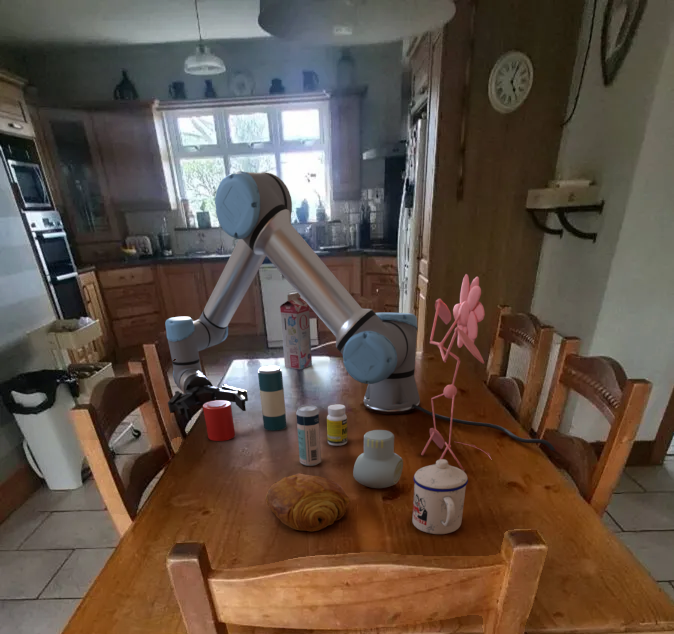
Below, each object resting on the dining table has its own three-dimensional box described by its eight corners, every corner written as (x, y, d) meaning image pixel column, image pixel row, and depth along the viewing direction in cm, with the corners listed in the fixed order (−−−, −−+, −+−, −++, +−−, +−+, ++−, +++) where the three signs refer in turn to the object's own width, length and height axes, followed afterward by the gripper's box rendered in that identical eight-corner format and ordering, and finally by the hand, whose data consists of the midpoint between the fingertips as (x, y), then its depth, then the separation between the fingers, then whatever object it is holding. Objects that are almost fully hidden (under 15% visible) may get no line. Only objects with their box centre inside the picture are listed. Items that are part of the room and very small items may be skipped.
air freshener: (390, 496, 106) (392, 447, 100) (350, 491, 109) (349, 442, 102) (404, 474, 114) (407, 427, 108) (367, 469, 117) (367, 423, 111)
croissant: (286, 551, 95) (283, 513, 90) (258, 503, 105) (254, 466, 100) (361, 530, 99) (362, 493, 94) (327, 486, 109) (327, 450, 104)
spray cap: (240, 434, 136) (236, 401, 131) (223, 442, 132) (217, 409, 127) (220, 429, 139) (215, 398, 134) (202, 438, 134) (196, 405, 130)
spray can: (291, 424, 140) (286, 366, 132) (277, 432, 136) (271, 372, 128) (272, 421, 143) (267, 364, 134) (259, 428, 139) (252, 369, 130)
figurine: (442, 489, 108) (461, 287, 87) (407, 442, 128) (416, 269, 107) (515, 481, 110) (551, 282, 89) (470, 436, 130) (490, 265, 109)
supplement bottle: (345, 446, 127) (344, 410, 122) (325, 445, 128) (324, 409, 123) (349, 439, 131) (348, 403, 126) (330, 438, 132) (328, 403, 127)
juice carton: (311, 365, 188) (308, 292, 175) (300, 369, 183) (295, 295, 170) (296, 362, 191) (291, 291, 178) (284, 367, 186) (279, 294, 173)
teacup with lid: (405, 513, 101) (408, 452, 93) (453, 509, 101) (460, 448, 94) (422, 547, 91) (427, 482, 84) (475, 541, 92) (484, 477, 85)
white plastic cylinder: (324, 459, 122) (322, 405, 114) (316, 468, 118) (313, 412, 111) (304, 457, 123) (300, 403, 116) (296, 465, 119) (292, 410, 112)
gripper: (243, 395, 154) (267, 417, 139) (153, 409, 146) (168, 434, 131) (239, 367, 150) (263, 386, 134) (146, 380, 142) (161, 402, 126)
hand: (216, 410), depth 133 cm, fingers open, 13 cm apart
